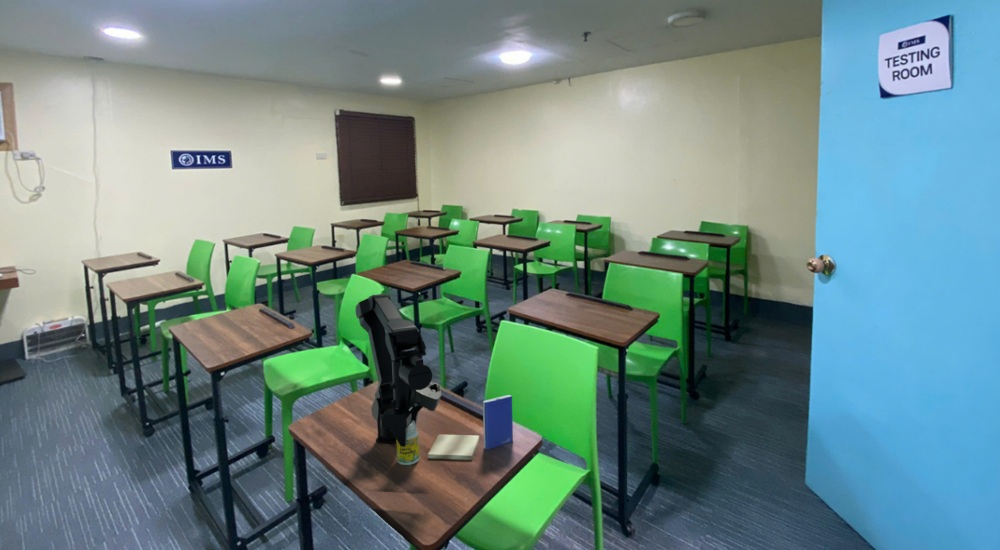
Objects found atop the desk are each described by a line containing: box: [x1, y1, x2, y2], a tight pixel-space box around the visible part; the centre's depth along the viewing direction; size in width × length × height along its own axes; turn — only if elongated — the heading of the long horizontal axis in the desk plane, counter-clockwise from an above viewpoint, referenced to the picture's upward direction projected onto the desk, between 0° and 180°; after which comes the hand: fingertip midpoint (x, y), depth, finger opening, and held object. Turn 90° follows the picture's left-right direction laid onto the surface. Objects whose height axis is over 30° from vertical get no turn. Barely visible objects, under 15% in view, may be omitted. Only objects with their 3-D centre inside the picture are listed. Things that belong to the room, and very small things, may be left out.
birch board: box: [427, 433, 480, 461], centre depth 121 cm, size 11×11×2 cm
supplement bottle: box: [395, 421, 420, 466], centre depth 115 cm, size 5×5×10 cm
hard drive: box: [482, 394, 514, 450], centre depth 122 cm, size 2×8×12 cm, turn 121°
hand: (407, 439), depth 115 cm, fingers open, 6 cm apart
